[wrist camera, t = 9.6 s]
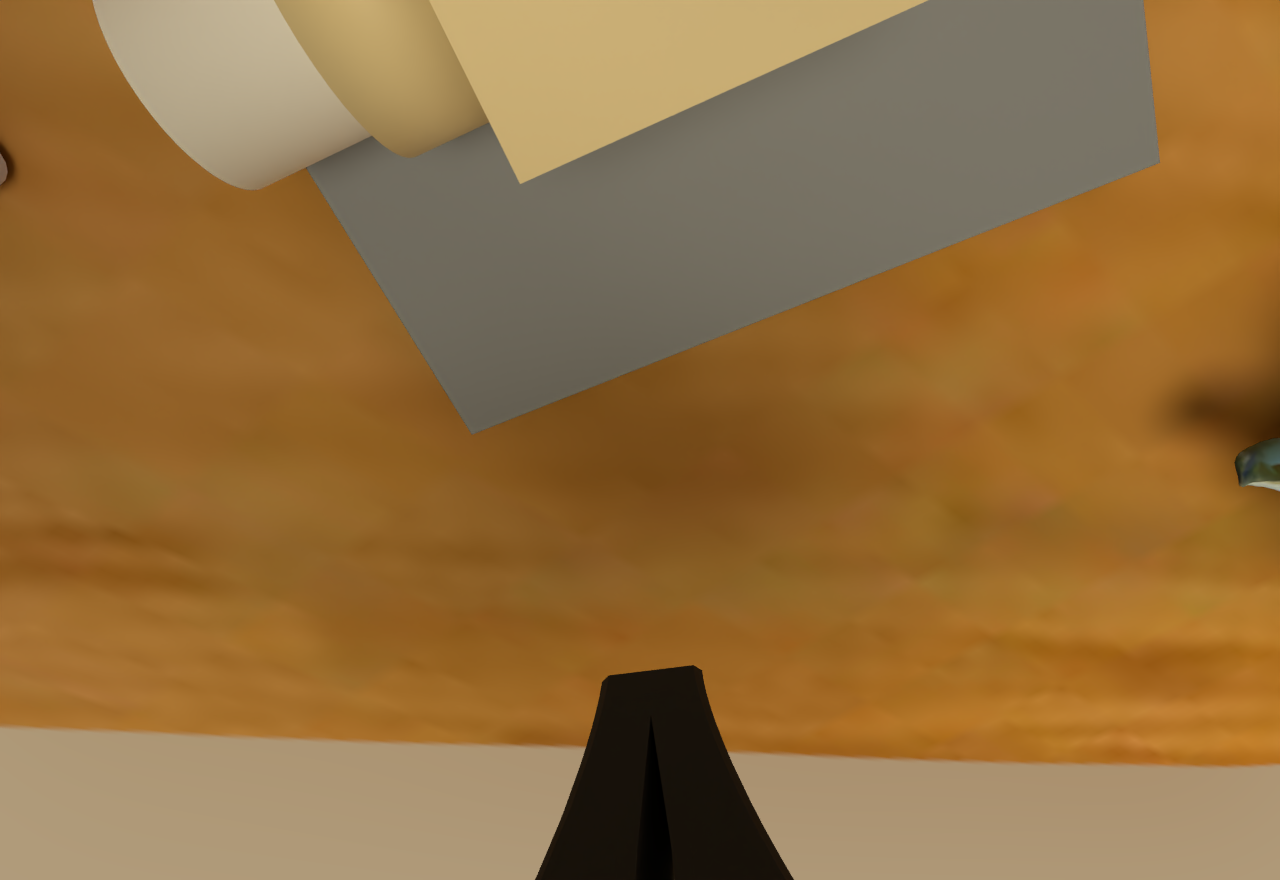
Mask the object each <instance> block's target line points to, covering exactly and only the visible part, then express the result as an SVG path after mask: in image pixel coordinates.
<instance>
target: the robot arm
mask: <svg viewBox="0 0 1280 880" xmlns="http://www.w3.org/2000/svg"><path fill="white" fill-rule="evenodd" d="M7 173H8V171H7V166H6V162H5V160H4V159H3V157H2V155H1V154H0V185H1V184H2V183H3V182H4V181H5V180H6V177H7ZM535 880H794V879H793V877H792V876H791V874H790V873H789V871H788V869H787V867H786V866H785V864H784V862H783V860H782V859H781V857H780V855H779V853H778V852H777V850H776V848H775V846H774V844H773V843H772V841H771V839H770V837H769V835H768V834H767V832H766V830H765V829H764V827H763V825H762V823H761V821H760V819H759V817H758V815H757V813H756V811H755V809H754V807H753V806H752V803H751V801H750V800H749V797H748V795H747V793H746V791H745V789H744V787H743V785H742V783H741V781H740V778H739V776H738V774H737V772H736V770H735V768H734V766H733V764H732V762H731V759H730V757H729V755H728V752H727V750H726V748H725V745H724V743H723V740H722V738H721V735H720V732H719V730H718V727H717V725H716V722H715V719H714V716H713V713H712V710H711V707H710V704H709V701H708V697H707V693H706V689H705V685H704V681H703V674H702V670H700V669H699V668H697V667H695V666H694V665H692V666H683V667H675V668H667V669H659V670H651V671H642V672H634V673H626V674H618V675H610V676H608V677H607V678H606V679H605V680H604V681H603V682H602V686H601V691H600V697H599V702H598V706H597V710H596V714H595V718H594V722H593V726H592V729H591V733H590V736H589V739H588V743H587V746H586V749H585V752H584V756H583V759H582V762H581V765H580V768H579V771H578V773H577V776H576V779H575V782H574V785H573V787H572V790H571V793H570V796H569V799H568V801H567V804H566V807H565V810H564V813H563V815H562V817H561V820H560V823H559V825H558V827H557V830H556V832H555V834H554V837H553V839H552V842H551V844H550V847H549V849H548V851H547V854H546V856H545V858H544V860H543V863H542V865H541V867H540V870H539V872H538V875H537V877H536V879H535Z"/></svg>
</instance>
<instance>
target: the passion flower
mask: <svg viewBox="0 0 1280 880" xmlns="http://www.w3.org/2000/svg"><path fill="white" fill-rule="evenodd" d="M1235 467H1236V471H1237V475H1238V480H1239V485H1240V486H1242V487H1244V486H1246V485H1252V486H1263V487H1267V488H1271V489H1275V490H1277V491H1280V438H1273V439H1269V440H1266V441H1262V442H1259V443H1257V444H1255V445H1253V446H1251V447H1249V448H1247V449H1245V450H1243V451H1242V452H1240V453H1239V455H1238V456H1237V457H1236V460H1235Z"/></svg>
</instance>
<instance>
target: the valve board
mask: <svg viewBox="0 0 1280 880" xmlns="http://www.w3.org/2000/svg"><path fill="white" fill-rule="evenodd" d="M93 5H94V9H95V13H96V16H97V19H98V22H99V25H100V27H101V30H102V32H103V35H104V37H105V39H106V42H107V44H108V46H109V48H110V50H111V52H112V54H113V56H114V58H115V60H116V62H117V64H118V66H119V67H120V69H121V71H122V72H123V74H124V76H125V78H126V79H127V81H128V82H129V84H130V86H131V87H132V89H133V90H134V92H135V93H136V95H137V96H138V98H139V99H140V100H141V102H142V103H143V104H144V106H145V107H146V109H147V110H148V111H149V113H150V114H151V115H152V116H153V118H154V119H155V120H156V121H157V122H158V124H159V125H160V126H161V127H162V129H163V130H164V131H165V132H166V133H167V134H168V135H169V136H170V137H171V138H172V140H173V141H174V142H175V143H176V144H177V145H178V146H179V147H180V148H181V149H182V150H183V151H184V152H185V153H187V154H188V155H189V156H190V157H191V158H192V159H193V160H194V161H196V162H197V163H198V164H199V165H200V166H202V167H203V168H204V169H206V170H207V171H208V172H210V173H211V174H213V175H214V176H216V177H217V178H219V179H221V180H222V181H224V182H226V183H228V184H230V185H233V186H235V187H238V188H241V189H245V190H258V189H262V188H264V187H266V186H268V185H270V184H272V183H274V182H276V181H278V180H281V179H283V178H285V177H287V176H289V175H291V174H293V173H295V172H297V171H299V170H301V169H304V168H306V169H307V170H308V172H309V173H310V175H311V177H312V178H313V180H314V181H315V183H316V185H317V186H318V188H319V189H320V191H321V193H322V194H323V196H324V197H325V199H326V201H327V202H328V204H329V206H330V207H331V209H332V210H333V212H334V214H335V215H336V217H337V218H338V220H339V222H340V223H341V225H342V226H343V228H344V230H345V231H346V233H347V234H348V236H349V238H350V239H351V241H352V243H353V244H354V246H355V247H356V249H357V251H358V252H359V254H360V255H361V257H362V259H363V260H364V262H365V263H366V265H367V267H368V268H369V270H370V271H371V273H372V275H373V276H374V278H375V280H376V281H377V283H378V284H379V286H380V288H381V289H382V291H383V292H384V294H385V296H386V297H387V299H388V300H389V302H390V304H391V305H392V307H393V308H394V310H395V312H396V313H397V315H398V317H399V318H400V320H401V321H402V323H403V325H404V326H405V328H406V329H407V331H408V333H409V334H410V336H411V337H412V339H413V341H414V342H415V344H416V346H417V347H418V349H419V350H420V352H421V354H422V355H423V357H424V358H425V360H426V362H427V363H428V365H429V366H430V368H431V370H432V371H433V373H434V374H435V376H436V378H437V379H438V381H439V383H440V384H441V386H442V387H443V389H444V391H445V392H446V394H447V395H448V397H449V399H450V400H451V402H452V403H453V405H454V407H455V408H456V410H457V411H458V413H459V415H460V416H461V418H462V420H463V421H464V423H465V424H466V426H467V428H468V429H469V431H470V432H471V434H475V433H477V432H480V431H482V430H485V429H487V428H490V427H492V426H495V425H497V424H500V423H502V422H505V421H507V420H510V419H513V418H515V417H518V416H520V415H523V414H525V413H528V412H530V411H533V410H535V409H538V408H540V407H543V406H545V405H548V404H551V403H553V402H556V401H558V400H561V399H563V398H566V397H568V396H571V395H573V394H576V393H578V392H581V391H583V390H586V389H588V388H591V387H594V386H596V385H599V384H601V383H604V382H606V381H609V380H611V379H614V378H616V377H619V376H621V375H624V374H626V373H629V372H631V371H634V370H637V369H639V368H642V367H644V366H647V365H649V364H652V363H654V362H657V361H659V360H662V359H664V358H667V357H669V356H672V355H674V354H677V353H680V352H682V351H685V350H687V349H690V348H692V347H695V346H697V345H700V344H702V343H705V342H707V341H710V340H712V339H715V338H718V337H720V336H723V335H725V334H728V333H730V332H733V331H735V330H738V329H740V328H743V327H745V326H748V325H750V324H753V323H755V322H758V321H761V320H763V319H766V318H768V317H771V316H773V315H776V314H778V313H781V312H783V311H786V310H788V309H791V308H793V307H796V306H798V305H801V304H804V303H806V302H809V301H811V300H814V299H816V298H819V297H821V296H824V295H826V294H829V293H831V292H834V291H836V290H839V289H841V288H844V287H847V286H849V285H852V284H854V283H857V282H859V281H862V280H864V279H867V278H869V277H872V276H874V275H877V274H879V273H882V272H885V271H887V270H890V269H892V268H895V267H897V266H900V265H902V264H905V263H907V262H910V261H912V260H915V259H917V258H920V257H922V256H925V255H928V254H930V253H933V252H935V251H938V250H940V249H943V248H945V247H948V246H950V245H953V244H955V243H958V242H960V241H963V240H965V239H968V238H971V237H973V236H976V235H978V234H981V233H983V232H986V231H988V230H991V229H993V228H996V227H998V226H1001V225H1003V224H1006V223H1008V222H1011V221H1014V220H1016V219H1019V218H1021V217H1024V216H1026V215H1029V214H1031V213H1034V212H1036V211H1039V210H1041V209H1044V208H1046V207H1049V206H1052V205H1054V204H1057V203H1059V202H1062V201H1064V200H1067V199H1069V198H1072V197H1074V196H1077V195H1079V194H1082V193H1084V192H1087V191H1089V190H1092V189H1095V188H1097V187H1100V186H1102V185H1105V184H1107V183H1110V182H1112V181H1115V180H1117V179H1120V178H1122V177H1125V176H1127V175H1130V174H1132V173H1135V172H1138V171H1140V170H1143V169H1145V168H1148V167H1150V166H1153V165H1155V164H1158V163H1160V159H1159V149H1158V140H1157V130H1156V120H1155V110H1154V100H1153V91H1152V81H1151V71H1150V61H1149V51H1148V42H1147V32H1146V22H1145V12H1144V3H1143V0H93Z"/></svg>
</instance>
